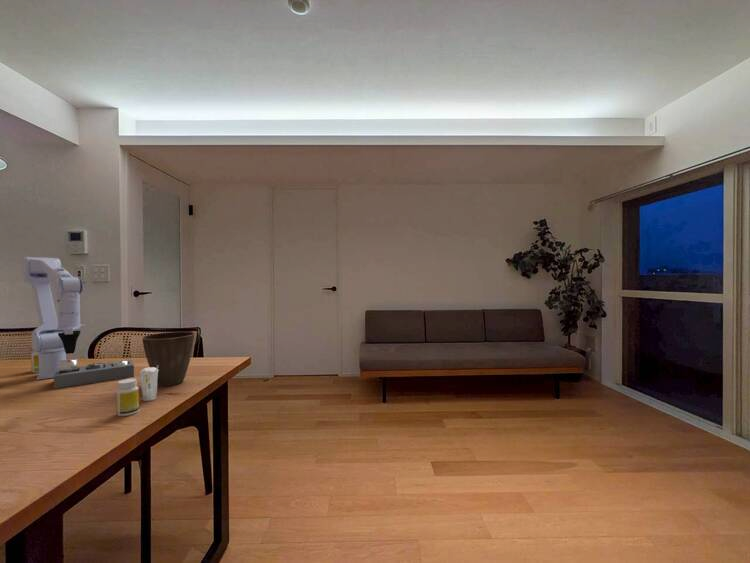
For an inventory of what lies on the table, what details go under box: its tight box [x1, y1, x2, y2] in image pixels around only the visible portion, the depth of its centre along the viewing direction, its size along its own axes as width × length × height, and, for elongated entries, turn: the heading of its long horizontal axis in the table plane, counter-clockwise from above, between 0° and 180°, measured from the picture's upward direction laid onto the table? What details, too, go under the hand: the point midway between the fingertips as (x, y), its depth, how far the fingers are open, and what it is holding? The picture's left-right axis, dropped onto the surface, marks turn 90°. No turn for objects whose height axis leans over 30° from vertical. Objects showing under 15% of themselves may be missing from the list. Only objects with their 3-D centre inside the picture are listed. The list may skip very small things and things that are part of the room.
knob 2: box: [112, 359, 129, 366], centre depth 127 cm, size 4×4×4 cm
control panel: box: [53, 359, 135, 390], centre depth 122 cm, size 11×21×4 cm, turn 129°
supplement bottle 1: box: [30, 350, 39, 374], centre depth 133 cm, size 5×5×10 cm
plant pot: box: [141, 331, 195, 387], centre depth 117 cm, size 15×15×16 cm
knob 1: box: [60, 358, 79, 373], centre depth 118 cm, size 4×4×4 cm
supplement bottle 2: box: [115, 378, 140, 417], centre depth 91 cm, size 5×5×8 cm
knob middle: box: [87, 362, 105, 370], centre depth 122 cm, size 4×4×4 cm
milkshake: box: [139, 365, 159, 402], centre depth 101 cm, size 5×5×10 cm
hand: (70, 353), depth 118 cm, fingers closed
